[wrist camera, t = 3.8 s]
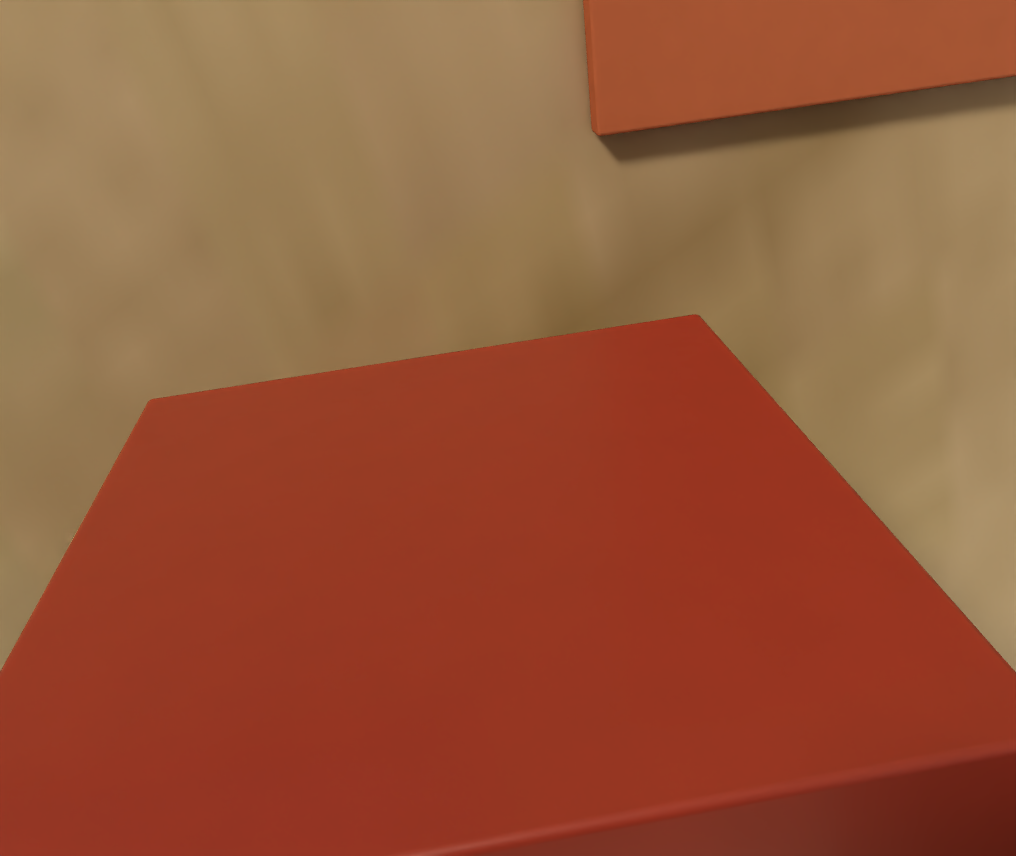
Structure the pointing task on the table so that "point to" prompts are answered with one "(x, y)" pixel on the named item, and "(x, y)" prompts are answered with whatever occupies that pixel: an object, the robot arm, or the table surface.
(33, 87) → the table surface
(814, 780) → the red block
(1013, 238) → the table surface
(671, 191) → the table surface
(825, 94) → the orange square mat
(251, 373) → the table surface
